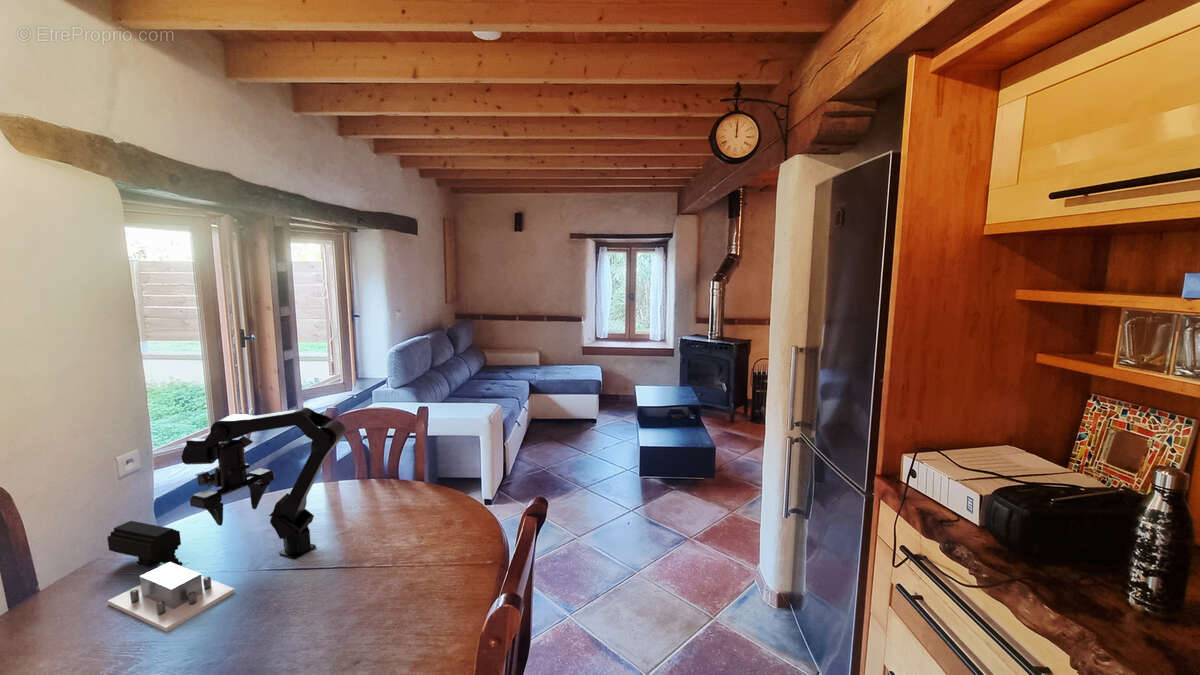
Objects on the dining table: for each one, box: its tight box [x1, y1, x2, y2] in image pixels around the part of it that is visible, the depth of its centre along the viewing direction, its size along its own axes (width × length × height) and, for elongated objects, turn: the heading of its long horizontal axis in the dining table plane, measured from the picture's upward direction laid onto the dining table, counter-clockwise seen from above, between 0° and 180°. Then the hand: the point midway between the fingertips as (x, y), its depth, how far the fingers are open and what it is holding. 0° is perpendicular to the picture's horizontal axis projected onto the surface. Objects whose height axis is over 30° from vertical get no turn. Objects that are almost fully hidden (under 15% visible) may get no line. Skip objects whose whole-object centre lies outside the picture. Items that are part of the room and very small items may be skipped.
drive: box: [139, 562, 203, 609], centre depth 115 cm, size 12×6×5 cm, turn 69°
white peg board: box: [107, 566, 235, 633], centre depth 115 cm, size 22×14×4 cm, turn 69°
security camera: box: [106, 520, 183, 568], centre depth 127 cm, size 7×18×10 cm, turn 77°
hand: (237, 516), depth 132 cm, fingers open, 9 cm apart
